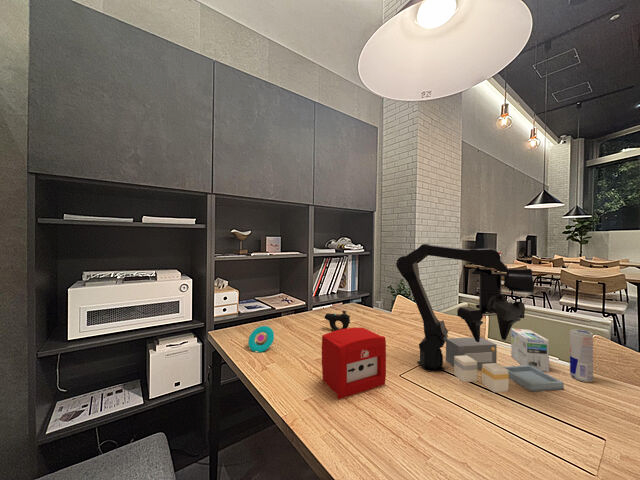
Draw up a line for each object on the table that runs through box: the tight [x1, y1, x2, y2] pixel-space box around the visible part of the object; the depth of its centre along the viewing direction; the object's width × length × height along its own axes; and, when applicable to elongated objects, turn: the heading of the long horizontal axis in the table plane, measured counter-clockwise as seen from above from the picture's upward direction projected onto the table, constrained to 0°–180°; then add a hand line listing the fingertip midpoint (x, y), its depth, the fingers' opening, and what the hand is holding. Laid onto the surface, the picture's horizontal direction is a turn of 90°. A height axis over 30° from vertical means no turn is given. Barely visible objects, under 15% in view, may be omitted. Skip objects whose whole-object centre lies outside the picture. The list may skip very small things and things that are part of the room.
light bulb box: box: [510, 327, 550, 372], centre depth 91 cm, size 11×7×11 cm, turn 168°
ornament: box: [248, 325, 275, 353], centre depth 103 cm, size 11×4×10 cm
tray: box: [502, 365, 565, 393], centre depth 79 cm, size 11×11×2 cm
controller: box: [324, 310, 351, 331], centre depth 122 cm, size 4×12×10 cm, turn 70°
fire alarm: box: [321, 327, 387, 400], centre depth 77 cm, size 16×11×15 cm
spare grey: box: [453, 355, 478, 383], centre depth 81 cm, size 5×5×6 cm
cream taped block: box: [481, 363, 510, 393], centre depth 76 cm, size 5×5×6 cm
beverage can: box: [569, 328, 594, 383], centre depth 81 cm, size 5×5×15 cm
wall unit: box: [445, 336, 498, 370], centre depth 90 cm, size 14×8×8 cm, turn 97°
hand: (490, 340), depth 78 cm, fingers open, 9 cm apart
